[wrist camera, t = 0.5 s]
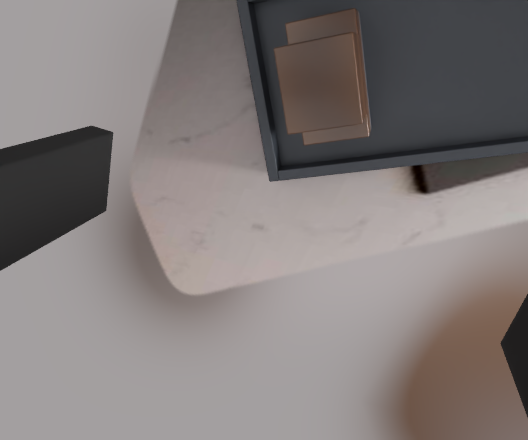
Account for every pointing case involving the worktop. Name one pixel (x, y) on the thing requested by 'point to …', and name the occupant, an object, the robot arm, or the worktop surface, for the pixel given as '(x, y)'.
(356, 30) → the brown t-shaped block
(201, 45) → the worktop surface
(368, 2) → the tray
